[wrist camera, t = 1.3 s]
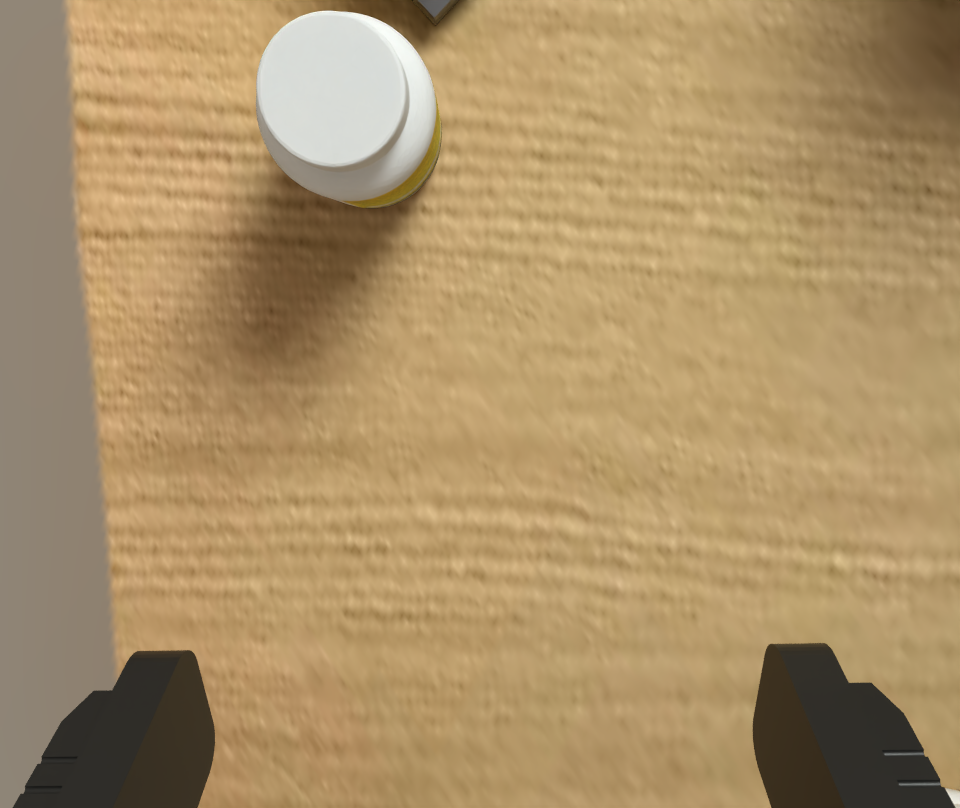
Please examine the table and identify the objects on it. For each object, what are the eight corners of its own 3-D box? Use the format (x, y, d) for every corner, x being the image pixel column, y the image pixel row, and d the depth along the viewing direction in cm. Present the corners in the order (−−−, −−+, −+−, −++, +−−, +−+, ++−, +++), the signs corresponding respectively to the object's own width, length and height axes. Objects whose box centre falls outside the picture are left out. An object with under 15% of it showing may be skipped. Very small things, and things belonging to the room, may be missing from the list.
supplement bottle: (462, 90, 31) (462, 27, 21) (415, 228, 32) (395, 227, 22) (324, 37, 31) (262, -52, 21) (281, 179, 32) (202, 156, 22)
